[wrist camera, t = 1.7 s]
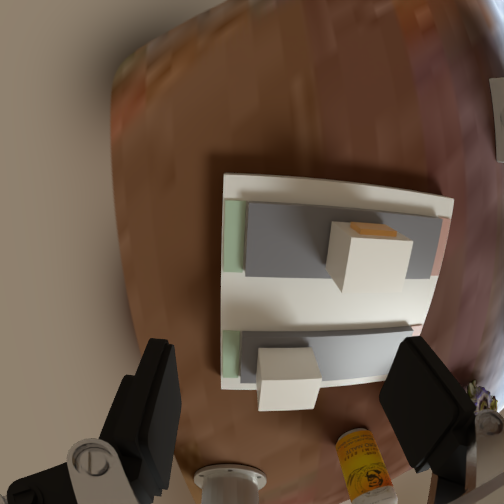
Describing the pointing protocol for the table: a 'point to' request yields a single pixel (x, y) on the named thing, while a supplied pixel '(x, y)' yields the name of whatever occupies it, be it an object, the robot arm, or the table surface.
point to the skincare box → (498, 114)
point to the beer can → (364, 469)
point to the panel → (319, 275)
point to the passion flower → (481, 398)
